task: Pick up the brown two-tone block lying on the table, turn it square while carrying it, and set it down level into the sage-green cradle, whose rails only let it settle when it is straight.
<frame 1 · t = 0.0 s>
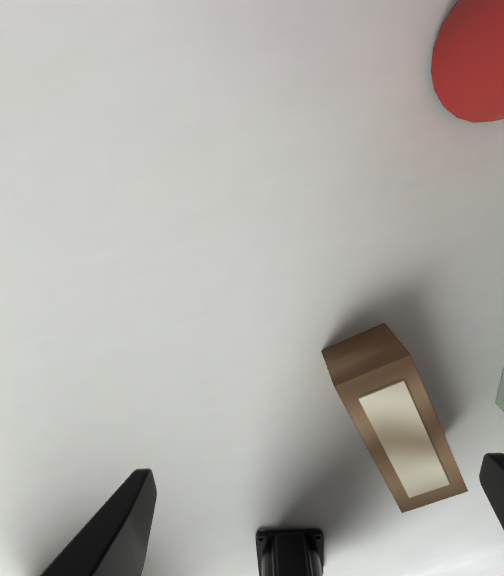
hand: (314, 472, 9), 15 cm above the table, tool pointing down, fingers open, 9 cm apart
brown two-tone block: (381, 398, 26), on the table
beer can: (483, 58, 18), on the table
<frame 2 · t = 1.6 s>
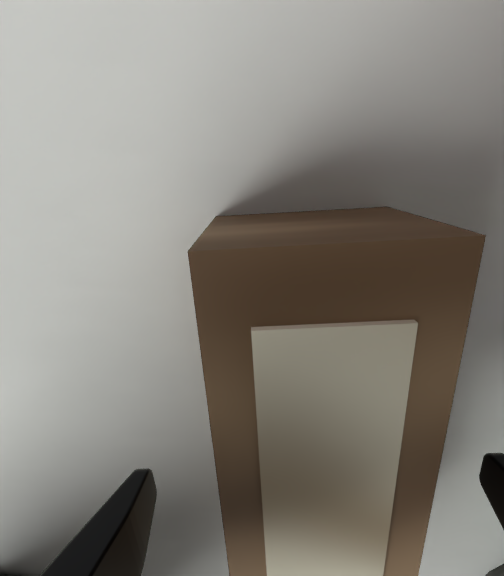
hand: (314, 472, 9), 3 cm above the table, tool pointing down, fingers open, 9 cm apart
brown two-tone block: (300, 389, 12), on the table
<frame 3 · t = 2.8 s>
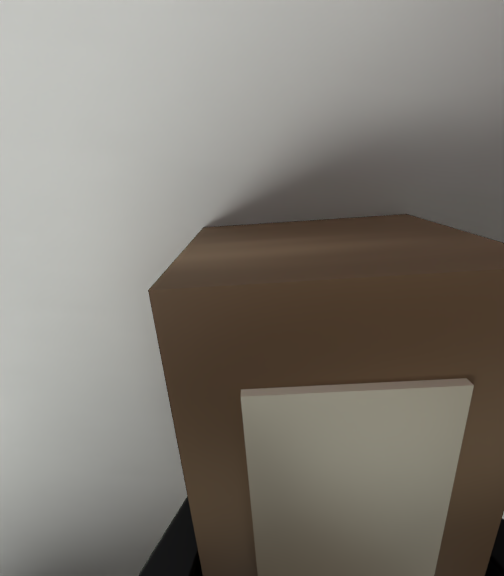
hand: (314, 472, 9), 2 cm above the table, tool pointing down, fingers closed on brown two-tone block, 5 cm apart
brown two-tone block: (305, 425, 10), on the table, touching gripper
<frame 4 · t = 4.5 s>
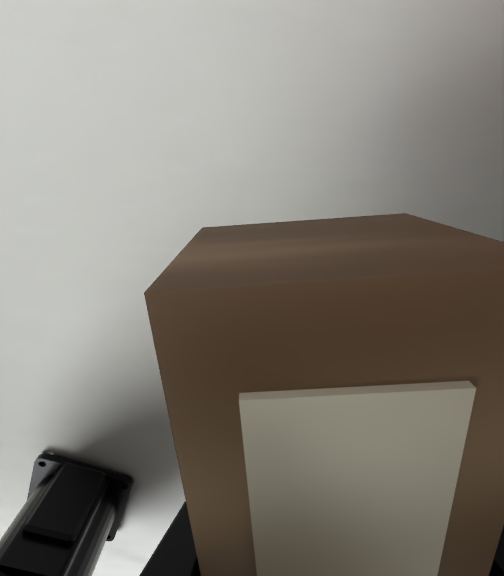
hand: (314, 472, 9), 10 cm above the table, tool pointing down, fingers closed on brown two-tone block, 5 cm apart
brown two-tone block: (305, 427, 10), point 8 cm above the table, touching gripper
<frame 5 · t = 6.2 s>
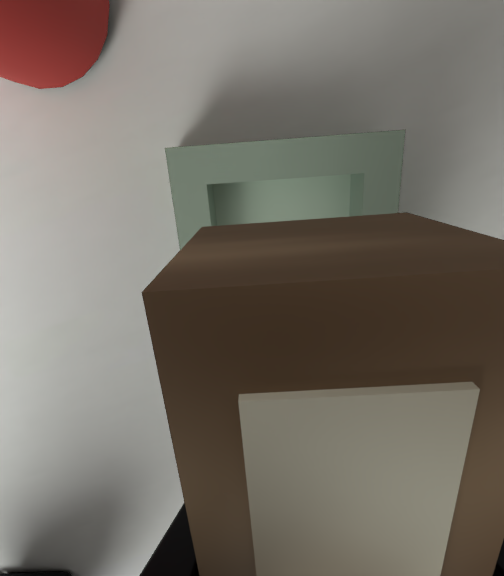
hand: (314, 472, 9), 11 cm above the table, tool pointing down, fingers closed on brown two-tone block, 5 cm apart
brown two-tone block: (306, 427, 10), point 9 cm above the table, touching gripper
beer can: (41, 5, 14), on the table
cradle: (284, 310, 19), on the table
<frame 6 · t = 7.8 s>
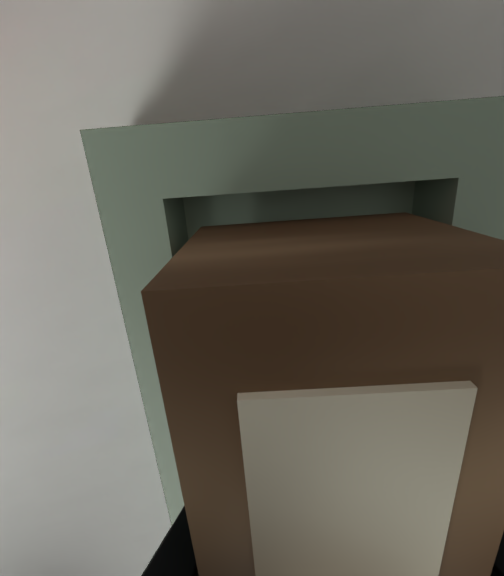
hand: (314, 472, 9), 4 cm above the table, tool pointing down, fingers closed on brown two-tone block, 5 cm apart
brown two-tone block: (305, 427, 10), point 2 cm above the table, touching gripper
cradle: (298, 380, 12), on the table
when the fingers open (4 cm above the table, at t = 8.0 s): brown two-tone block drops 1 cm, resting on cradle.
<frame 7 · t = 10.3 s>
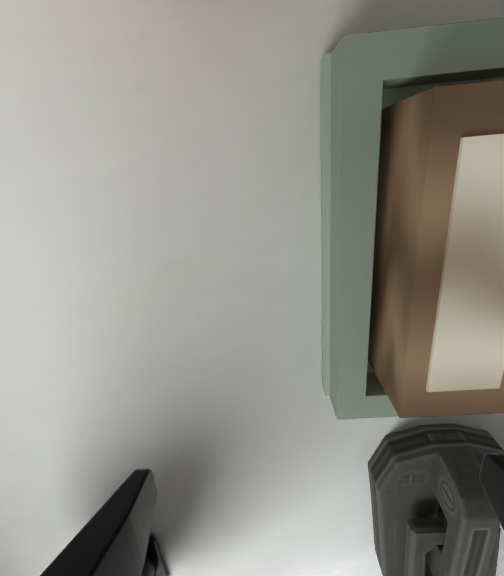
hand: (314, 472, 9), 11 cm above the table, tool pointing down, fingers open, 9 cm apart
brown two-tone block: (424, 249, 16), point 1 cm above the table, touching cradle
zipper pull: (415, 537, 27), on the table
cradle: (415, 245, 17), on the table
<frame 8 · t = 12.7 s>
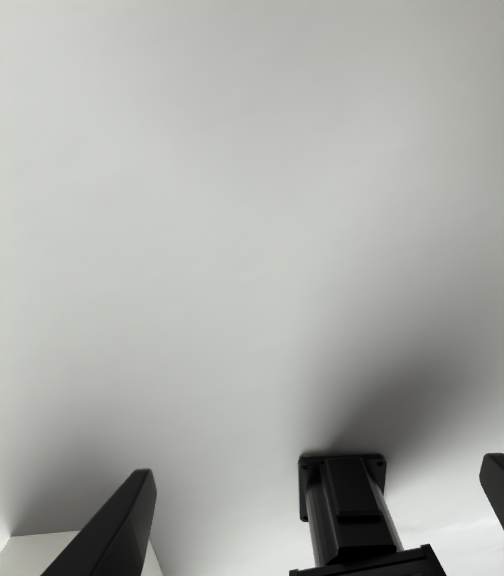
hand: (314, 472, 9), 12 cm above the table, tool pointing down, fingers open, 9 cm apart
milk: (97, 569, 30), on the table
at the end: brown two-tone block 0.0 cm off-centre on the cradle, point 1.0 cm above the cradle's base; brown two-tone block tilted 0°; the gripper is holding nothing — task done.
